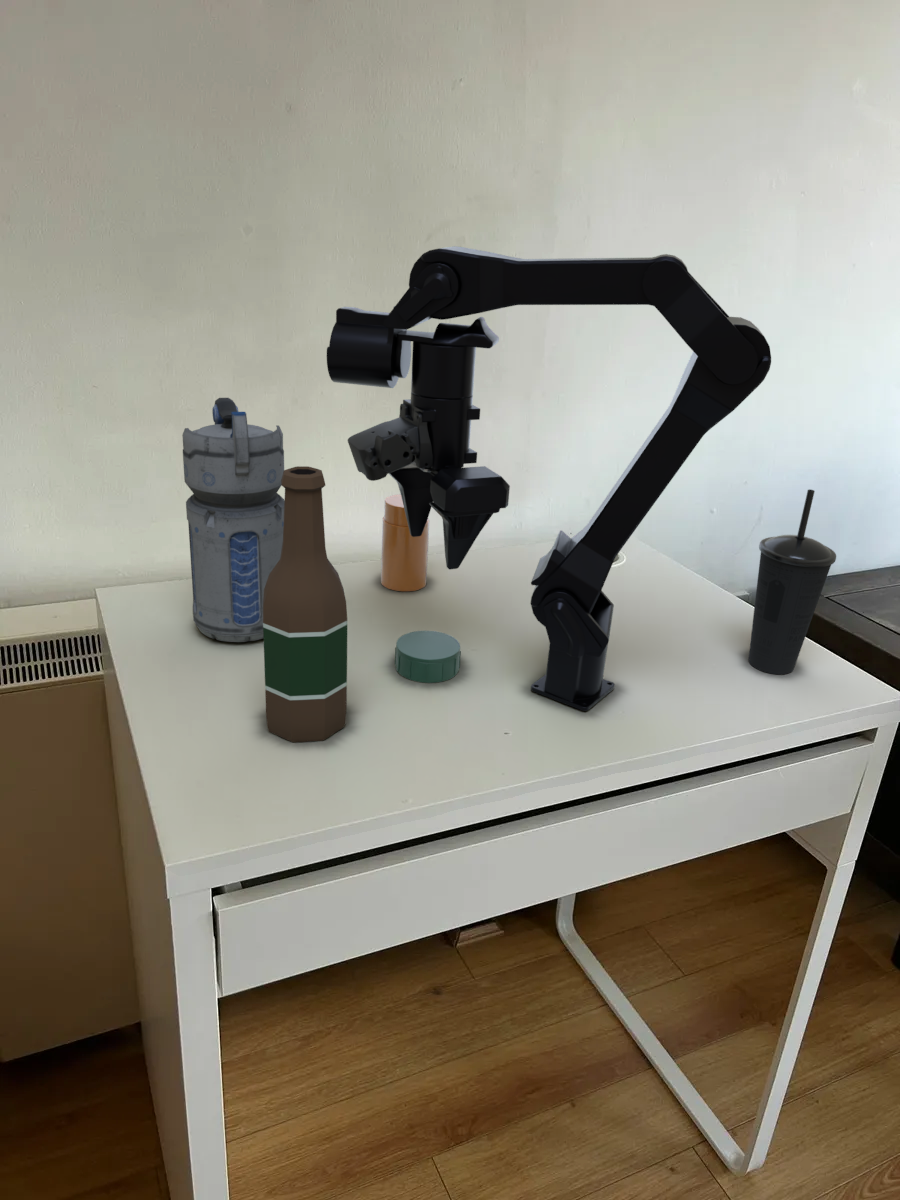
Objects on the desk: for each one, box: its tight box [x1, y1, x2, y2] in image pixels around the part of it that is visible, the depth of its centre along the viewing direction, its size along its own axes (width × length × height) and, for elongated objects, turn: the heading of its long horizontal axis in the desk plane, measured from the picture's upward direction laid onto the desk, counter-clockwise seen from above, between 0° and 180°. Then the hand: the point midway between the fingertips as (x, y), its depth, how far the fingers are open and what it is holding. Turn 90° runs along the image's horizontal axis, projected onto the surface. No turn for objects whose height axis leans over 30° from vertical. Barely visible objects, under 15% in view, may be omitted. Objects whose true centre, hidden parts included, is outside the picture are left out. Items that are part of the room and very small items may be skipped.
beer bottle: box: [263, 465, 348, 743], centre depth 78 cm, size 8×8×24 cm
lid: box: [394, 630, 462, 684], centre depth 94 cm, size 7×7×3 cm
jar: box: [380, 493, 430, 592], centre depth 113 cm, size 6×6×11 cm
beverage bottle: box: [181, 397, 285, 643], centre depth 96 cm, size 10×13×25 cm
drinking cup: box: [748, 489, 837, 675], centre depth 95 cm, size 8×8×20 cm
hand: (433, 551), depth 89 cm, fingers open, 9 cm apart
